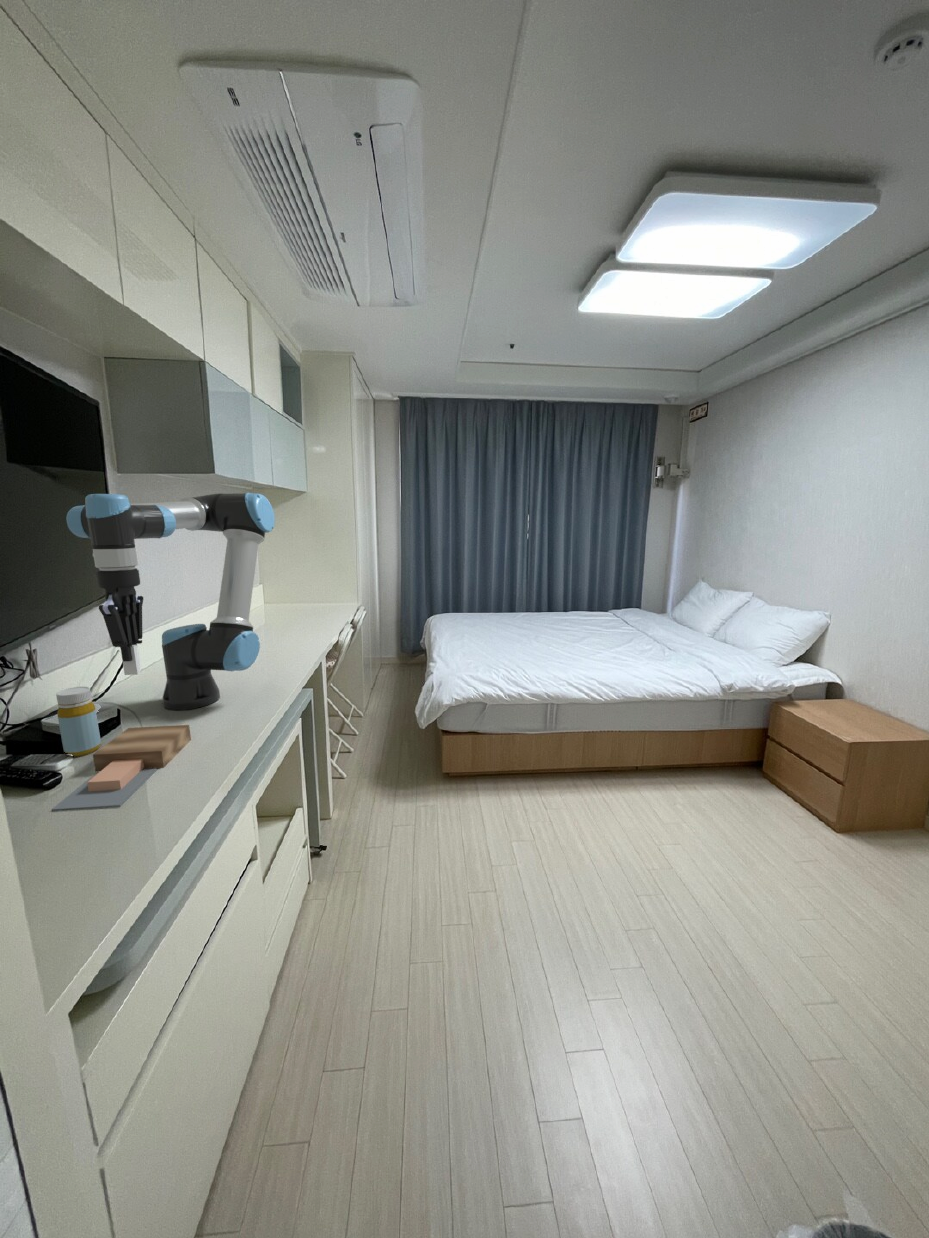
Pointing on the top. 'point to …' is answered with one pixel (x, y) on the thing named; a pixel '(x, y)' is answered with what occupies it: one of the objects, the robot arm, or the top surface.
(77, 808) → the mat
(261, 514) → the robot arm
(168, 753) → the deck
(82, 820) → the top surface
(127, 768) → the tile
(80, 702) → the bottle
